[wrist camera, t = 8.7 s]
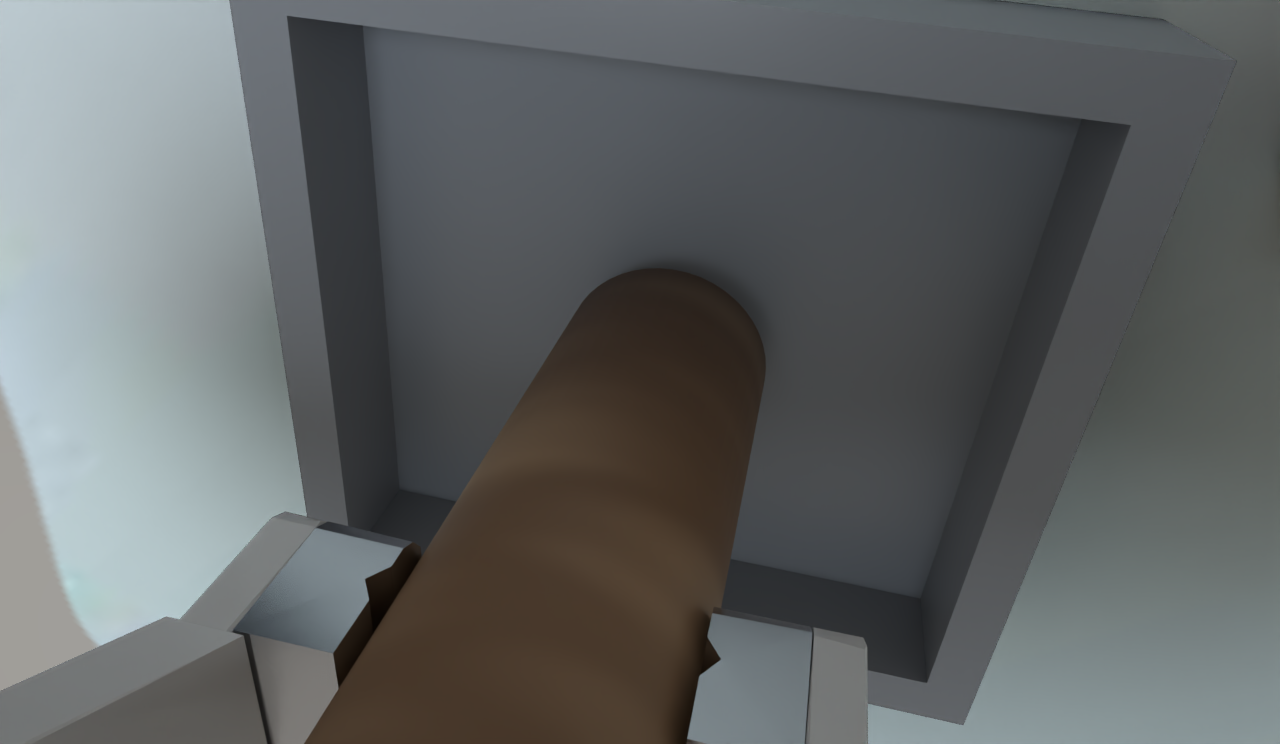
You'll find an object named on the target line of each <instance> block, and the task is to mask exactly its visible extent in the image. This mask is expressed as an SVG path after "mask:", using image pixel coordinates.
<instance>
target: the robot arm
mask: <svg viewBox="0 0 1280 744" xmlns="http://www.w3.org/2000/svg"><path fill="white" fill-rule="evenodd" d="M421 557H422V555H421V547H420V546H419V545H417V544H415V543H414V542H411V541H407V540H403V539H399V538H395V537H391V536H386V535H382V534H378V533H374V532H370V531H366V530H362V529H358V528H354V527H350V526H346V525H342V524H338V523H333V522H329V521H328V522H326V521H321V520H317V519H313V518H309V517H305V516H301V515H297V514H293V513H289V512H283V513H281V514H279V515H277V516H274V517H272V518H271V519H270V520H269V521H268V522H267V523H266V524H265V525H264V526H263V527H262V528H261V529H260V531H259V532H258V533H257V534H256V535H255V536H254V537H253V538H252V539H251V541H250V542H249V543H248V544H247V545H246V546H245V547H244V548H243V549H242V551H241V552H240V553H239V554H238V555H237V556H236V557H235V558H234V560H233V561H232V562H231V563H230V564H229V565H228V566H227V567H226V568H225V570H224V571H223V572H222V573H221V574H220V575H219V576H218V577H217V578H216V580H215V581H214V582H213V583H212V584H211V585H210V586H209V587H208V588H207V590H206V591H205V592H204V593H203V594H202V595H201V596H200V597H199V598H198V600H197V601H196V602H195V603H194V604H193V605H192V606H191V607H190V608H189V610H188V611H187V612H186V613H185V614H184V615H183V616H182V617H181V618H180V619H175V618H171V617H164V618H162V619H160V620H157V621H155V622H153V623H151V624H149V625H146V626H144V627H142V628H140V629H137V630H135V631H133V632H131V633H128V634H126V635H124V636H122V637H120V638H117V639H115V640H113V641H111V642H108V643H106V644H104V645H102V646H99V647H97V648H95V649H93V650H91V651H88V652H86V653H84V654H82V655H79V656H77V657H75V658H73V659H71V660H68V661H66V662H64V663H62V664H59V665H57V666H55V667H53V668H50V669H48V670H46V671H44V672H42V673H39V674H37V675H35V676H33V677H30V678H28V679H26V680H24V681H21V682H19V683H17V684H15V685H12V686H10V687H8V688H6V689H4V690H1V691H0V744H304V743H305V741H306V740H307V738H308V737H309V735H310V733H311V732H312V730H313V729H314V727H315V726H316V724H317V722H318V721H319V719H320V718H321V716H322V714H323V713H324V711H325V710H326V708H327V706H328V705H329V703H330V702H331V700H332V699H333V697H334V695H335V694H336V692H337V691H338V689H339V687H340V686H341V684H342V683H343V681H344V679H345V678H346V676H347V675H348V673H349V672H350V670H351V668H352V667H353V665H354V664H355V662H356V660H357V659H358V657H359V656H360V654H361V652H362V651H363V649H364V648H365V646H366V644H367V643H368V641H369V640H370V638H371V637H372V635H373V633H374V632H375V630H376V629H377V627H378V625H379V624H380V622H381V621H382V619H383V617H384V616H385V614H386V613H387V611H388V610H389V608H390V606H391V605H392V603H393V602H394V600H395V598H396V597H397V595H398V594H399V592H400V590H401V589H402V587H403V586H404V584H405V583H406V581H407V579H408V578H409V576H410V575H411V573H412V571H413V570H414V568H415V567H416V565H417V563H418V562H419V560H420V559H421ZM686 744H868V683H867V645H866V642H865V640H864V638H863V637H858V636H853V635H848V634H843V633H839V632H834V631H829V630H824V629H819V628H814V627H813V628H812V630H811V627H810V626H805V625H800V624H795V623H790V622H785V621H781V620H776V619H771V618H766V617H761V616H757V615H752V614H747V613H742V612H737V611H732V610H728V609H723V608H718V607H714V608H713V612H712V617H711V622H710V626H709V631H708V636H707V641H706V647H705V652H704V658H703V663H702V669H701V675H700V676H699V681H698V686H697V691H696V696H695V701H694V706H693V711H692V717H691V722H690V727H689V732H688V737H687V743H686Z"/></svg>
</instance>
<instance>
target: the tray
mask: <svg viewBox="0 0 1280 744" xmlns="http://www.w3.org/2000/svg"><path fill="white" fill-rule="evenodd" d="M229 1H230V7H231V14H232V21H233V27H234V34H235V40H236V47H237V54H238V60H239V67H240V74H241V80H242V87H243V94H244V100H245V107H246V113H247V120H248V127H249V133H250V140H251V147H252V153H253V160H254V167H255V173H256V180H257V187H258V193H259V200H260V206H261V213H262V220H263V226H264V233H265V240H266V246H267V253H268V260H269V266H270V273H271V279H272V286H273V293H274V299H275V306H276V313H277V319H278V326H279V333H280V339H281V346H282V352H283V359H284V366H285V372H286V379H287V386H288V392H289V399H290V406H291V412H292V419H293V425H294V432H295V439H296V445H297V452H298V459H299V465H300V472H301V479H302V485H303V492H304V498H305V505H306V512H307V517H309V518H313V519H317V520H321V521H326V522H328V521H329V522H333V523H338V524H342V525H346V526H350V527H354V528H358V529H362V530H366V531H370V532H374V533H378V534H382V535H386V536H391V537H395V538H399V539H403V540H407V541H411V542H414V543H415V544H417V545H419V546H420V547H421V555H422V556H423V554H424V552H425V551H426V549H427V548H428V546H429V544H430V543H431V541H432V540H433V538H434V536H435V535H436V533H437V532H438V530H439V529H440V527H441V525H442V524H443V522H444V521H445V519H446V517H447V516H448V514H449V513H450V511H451V509H452V508H453V506H454V505H455V503H456V501H457V500H458V498H459V497H460V495H461V494H462V492H463V490H464V489H465V487H466V486H467V484H468V482H469V481H470V479H471V478H472V476H473V474H474V473H475V471H476V470H477V468H478V467H479V465H480V463H481V462H482V460H483V459H484V457H485V455H486V454H487V452H488V451H489V449H490V447H491V446H492V444H493V443H494V441H495V440H496V438H497V436H498V435H499V433H500V432H501V430H502V428H503V427H504V425H505V424H506V422H507V420H508V419H509V417H510V416H511V414H512V413H513V411H514V409H515V408H516V406H517V405H518V403H519V401H520V400H521V398H522V397H523V395H524V393H525V392H526V390H527V389H528V387H529V385H530V384H531V382H532V381H533V379H534V378H535V376H536V374H537V373H538V371H539V370H540V368H541V366H542V365H543V363H544V362H545V360H546V358H547V357H548V355H549V354H550V352H551V351H552V349H553V347H554V346H555V344H556V343H557V341H558V339H559V338H560V336H561V335H562V333H563V331H564V330H565V328H566V327H567V325H568V324H569V322H570V320H571V319H572V317H573V316H574V314H575V312H576V311H577V309H578V308H579V306H580V305H581V303H582V302H583V301H584V299H585V298H586V297H587V296H588V295H589V294H590V293H591V292H592V291H593V290H594V289H596V288H597V287H598V286H599V285H601V284H602V283H604V282H606V281H607V280H609V279H611V278H613V277H616V276H618V275H620V274H623V273H627V272H630V271H634V270H640V269H647V268H663V269H673V270H678V271H683V272H687V273H690V274H693V275H696V276H699V277H701V278H703V279H705V280H707V281H709V282H711V283H713V284H715V285H717V286H718V287H720V288H721V289H723V290H724V291H726V292H727V293H728V294H729V295H730V296H731V297H733V298H734V299H735V300H736V301H737V302H738V303H739V304H740V305H741V306H742V307H743V308H744V310H745V311H746V312H747V314H748V315H749V316H750V318H751V319H752V321H753V323H754V324H755V326H756V328H757V330H758V332H759V335H760V338H761V340H762V343H763V347H764V352H765V359H766V373H765V381H764V387H763V392H762V397H761V402H760V407H759V413H758V418H757V423H756V428H755V434H754V439H753V444H752V449H751V454H750V460H749V465H748V470H747V475H746V481H745V486H744V491H743V496H742V501H741V507H740V512H739V517H738V522H737V528H736V533H735V538H734V543H733V548H732V554H731V559H730V564H729V569H728V575H727V580H726V585H725V590H724V595H723V601H722V606H721V608H723V609H728V610H732V611H737V612H742V613H747V614H752V615H757V616H761V617H766V618H771V619H776V620H781V621H785V622H790V623H795V624H800V625H805V626H810V627H811V630H812V628H813V627H814V628H819V629H824V630H829V631H834V632H839V633H843V634H848V635H853V636H858V637H863V638H864V640H865V642H866V645H867V683H868V704H872V705H877V706H881V707H885V708H890V709H894V710H899V711H903V712H907V713H912V714H916V715H921V716H925V717H929V718H934V719H938V720H943V721H947V722H951V723H956V724H960V725H964V722H965V720H966V717H967V715H968V713H969V710H970V708H971V705H972V703H973V701H974V698H975V696H976V693H977V691H978V688H979V686H980V684H981V681H982V679H983V676H984V674H985V671H986V669H987V667H988V664H989V662H990V659H991V657H992V654H993V652H994V650H995V647H996V645H997V642H998V640H999V637H1000V635H1001V633H1002V630H1003V628H1004V625H1005V623H1006V620H1007V618H1008V616H1009V613H1010V611H1011V608H1012V606H1013V603H1014V601H1015V599H1016V596H1017V594H1018V591H1019V589H1020V586H1021V584H1022V582H1023V579H1024V577H1025V574H1026V572H1027V569H1028V567H1029V565H1030V562H1031V560H1032V557H1033V555H1034V552H1035V550H1036V548H1037V545H1038V543H1039V540H1040V538H1041V535H1042V533H1043V531H1044V528H1045V526H1046V523H1047V521H1048V518H1049V516H1050V514H1051V511H1052V509H1053V506H1054V504H1055V501H1056V499H1057V497H1058V494H1059V492H1060V489H1061V487H1062V484H1063V482H1064V480H1065V477H1066V475H1067V472H1068V470H1069V467H1070V465H1071V463H1072V460H1073V458H1074V455H1075V453H1076V450H1077V448H1078V446H1079V443H1080V441H1081V438H1082V436H1083V434H1084V431H1085V429H1086V426H1087V424H1088V421H1089V419H1090V417H1091V414H1092V412H1093V409H1094V407H1095V404H1096V402H1097V400H1098V397H1099V395H1100V392H1101V390H1102V387H1103V385H1104V383H1105V380H1106V378H1107V375H1108V373H1109V370H1110V368H1111V366H1112V363H1113V361H1114V358H1115V356H1116V353H1117V351H1118V349H1119V346H1120V344H1121V341H1122V339H1123V336H1124V334H1125V332H1126V329H1127V327H1128V324H1129V322H1130V319H1131V317H1132V315H1133V312H1134V310H1135V307H1136V305H1137V302H1138V300H1139V298H1140V295H1141V293H1142V290H1143V288H1144V285H1145V283H1146V281H1147V278H1148V276H1149V273H1150V271H1151V268H1152V266H1153V264H1154V261H1155V259H1156V256H1157V254H1158V251H1159V249H1160V247H1161V244H1162V242H1163V239H1164V237H1165V234H1166V232H1167V230H1168V227H1169V225H1170V222H1171V220H1172V217H1173V215H1174V213H1175V210H1176V208H1177V205H1178V203H1179V200H1180V198H1181V196H1182V193H1183V191H1184V188H1185V186H1186V183H1187V181H1188V179H1189V176H1190V174H1191V171H1192V169H1193V167H1194V164H1195V162H1196V159H1197V157H1198V154H1199V152H1200V150H1201V147H1202V145H1203V142H1204V140H1205V137H1206V135H1207V133H1208V130H1209V128H1210V125H1211V123H1212V120H1213V118H1214V116H1215V113H1216V111H1217V108H1218V106H1219V103H1220V101H1221V99H1222V96H1223V94H1224V91H1225V89H1226V86H1227V84H1228V82H1229V79H1230V77H1231V74H1232V72H1233V69H1234V67H1235V65H1236V62H1237V61H1236V60H1234V59H1232V58H1231V57H1229V56H1227V55H1225V54H1224V53H1222V52H1220V51H1218V50H1217V49H1215V48H1213V47H1211V46H1209V45H1208V44H1206V43H1204V42H1202V41H1201V40H1199V39H1197V38H1195V37H1194V36H1192V35H1190V34H1188V33H1186V32H1185V31H1183V30H1181V29H1179V28H1178V27H1176V26H1174V25H1172V24H1171V23H1169V22H1167V21H1165V20H1163V19H1156V18H1147V17H1138V16H1129V15H1121V14H1112V13H1103V12H1094V11H1085V10H1076V9H1068V8H1059V7H1050V6H1041V5H1032V4H1023V3H1014V2H1006V1H997V0H229Z"/></svg>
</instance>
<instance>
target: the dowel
mask: <svg viewBox="0 0 1280 744" xmlns="http://www.w3.org/2000/svg"><path fill="white" fill-rule="evenodd" d="M765 373H766V359H765V352H764V347H763V343H762V340H761V338H760V335H759V332H758V330H757V328H756V326H755V324H754V323H753V321H752V319H751V318H750V316H749V315H748V314H747V312H746V311H745V310H744V308H743V307H742V306H741V305H740V304H739V303H738V302H737V301H736V300H735V299H734V298H733V297H731V296H730V295H729V294H728V293H727V292H726V291H724V290H723V289H721V288H720V287H718V286H717V285H715V284H713V283H711V282H709V281H707V280H705V279H703V278H701V277H699V276H696V275H693V274H690V273H687V272H683V271H678V270H673V269H663V268H647V269H640V270H634V271H630V272H627V273H623V274H620V275H618V276H616V277H613V278H611V279H609V280H607V281H606V282H604V283H602V284H601V285H599V286H598V287H597V288H596V289H594V290H593V291H592V292H591V293H590V294H589V295H588V296H587V297H586V298H585V299H584V301H583V302H582V303H581V305H580V306H579V308H578V309H577V311H576V312H575V314H574V316H573V317H572V319H571V320H570V322H569V324H568V325H567V327H566V328H565V330H564V331H563V333H562V335H561V336H560V338H559V339H558V341H557V343H556V344H555V346H554V347H553V349H552V351H551V352H550V354H549V355H548V357H547V358H546V360H545V362H544V363H543V365H542V366H541V368H540V370H539V371H538V373H537V374H536V376H535V378H534V379H533V381H532V382H531V384H530V385H529V387H528V389H527V390H526V392H525V393H524V395H523V397H522V398H521V400H520V401H519V403H518V405H517V406H516V408H515V409H514V411H513V413H512V414H511V416H510V417H509V419H508V420H507V422H506V424H505V425H504V427H503V428H502V430H501V432H500V433H499V435H498V436H497V438H496V440H495V441H494V443H493V444H492V446H491V447H490V449H489V451H488V452H487V454H486V455H485V457H484V459H483V460H482V462H481V463H480V465H479V467H478V468H477V470H476V471H475V473H474V474H473V476H472V478H471V479H470V481H469V482H468V484H467V486H466V487H465V489H464V490H463V492H462V494H461V495H460V497H459V498H458V500H457V501H456V503H455V505H454V506H453V508H452V509H451V511H450V513H449V514H448V516H447V517H446V519H445V521H444V522H443V524H442V525H441V527H440V529H439V530H438V532H437V533H436V535H435V536H434V538H433V540H432V541H431V543H430V544H429V546H428V548H427V549H426V551H425V552H424V554H423V556H422V557H421V559H420V560H419V562H418V563H417V565H416V567H415V568H414V570H413V571H412V573H411V575H410V576H409V578H408V579H407V581H406V583H405V584H404V586H403V587H402V589H401V590H400V592H399V594H398V595H397V597H396V598H395V600H394V602H393V603H392V605H391V606H390V608H389V610H388V611H387V613H386V614H385V616H384V617H383V619H382V621H381V622H380V624H379V625H378V627H377V629H376V630H375V632H374V633H373V635H372V637H371V638H370V640H369V641H368V643H367V644H366V646H365V648H364V649H363V651H362V652H361V654H360V656H359V657H358V659H357V660H356V662H355V664H354V665H353V667H352V668H351V670H350V672H349V673H348V675H347V676H346V678H345V679H344V681H343V683H342V684H341V686H340V687H339V689H338V691H337V692H336V694H335V695H334V697H333V699H332V700H331V702H330V703H329V705H328V706H327V708H326V710H325V711H324V713H323V714H322V716H321V718H320V719H319V721H318V722H317V724H316V726H315V727H314V729H313V730H312V732H311V733H310V735H309V737H308V738H307V740H306V741H305V743H304V744H686V743H687V737H688V732H689V727H690V722H691V717H692V711H693V706H694V701H695V696H696V691H697V686H698V681H699V676H700V675H701V669H702V663H703V658H704V652H705V647H706V641H707V636H708V631H709V626H710V622H711V617H712V612H713V608H714V607H718V608H721V606H722V601H723V595H724V590H725V585H726V580H727V575H728V569H729V564H730V559H731V554H732V548H733V543H734V538H735V533H736V528H737V522H738V517H739V512H740V507H741V501H742V496H743V491H744V486H745V481H746V475H747V470H748V465H749V460H750V454H751V449H752V444H753V439H754V434H755V428H756V423H757V418H758V413H759V407H760V402H761V397H762V392H763V387H764V381H765Z"/></svg>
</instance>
